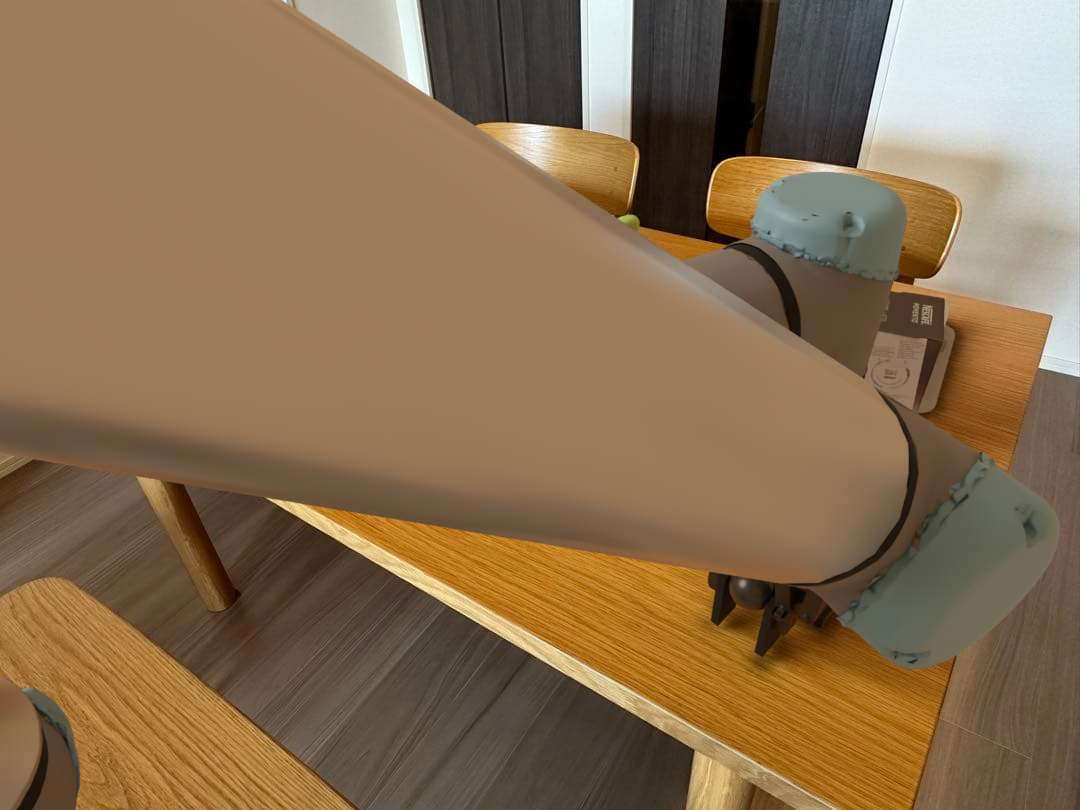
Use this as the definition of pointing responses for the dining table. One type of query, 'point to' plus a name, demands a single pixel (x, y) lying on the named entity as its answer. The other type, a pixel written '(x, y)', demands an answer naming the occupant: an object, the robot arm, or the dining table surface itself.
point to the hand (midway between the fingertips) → (744, 628)
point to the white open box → (938, 367)
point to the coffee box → (907, 346)
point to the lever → (751, 592)
